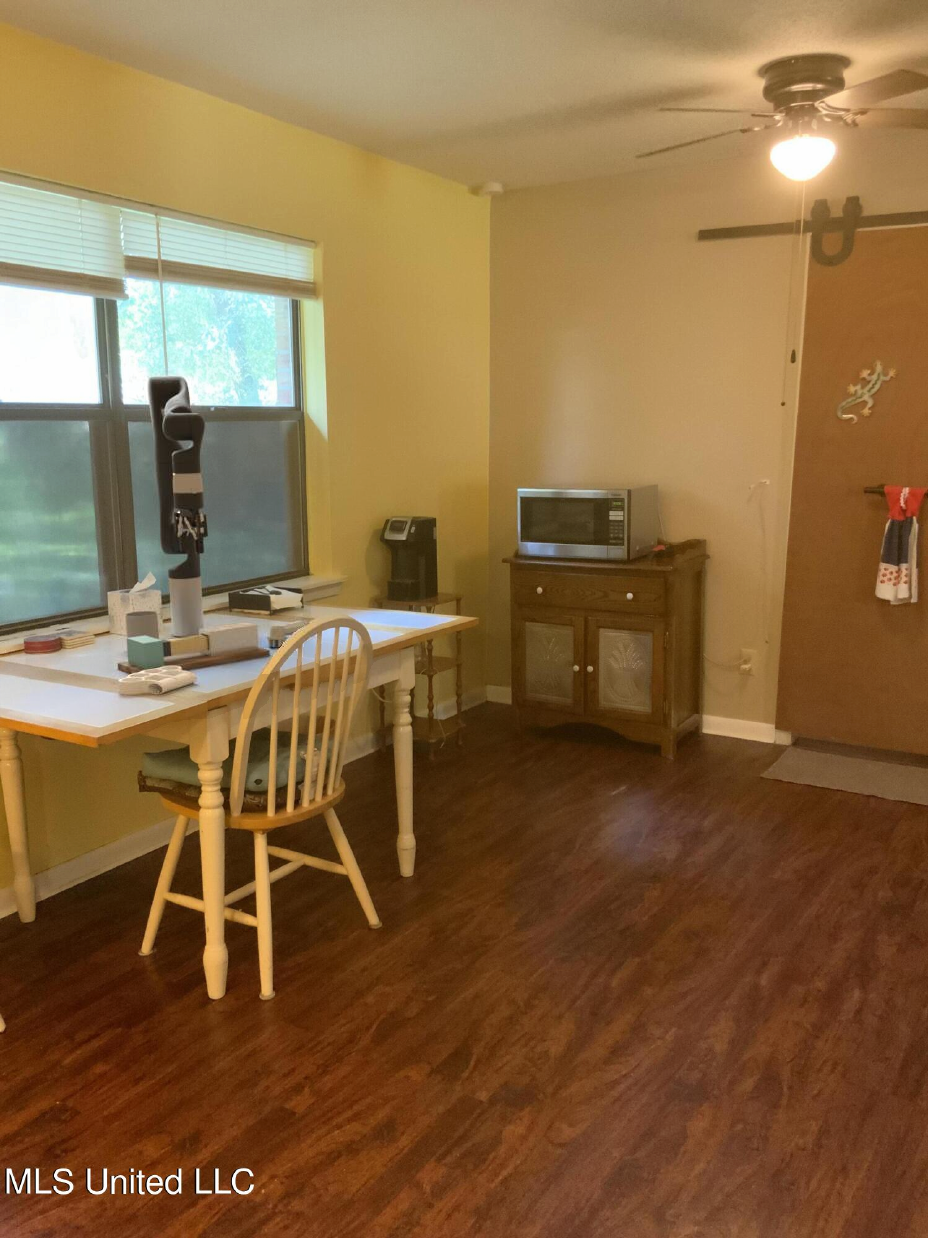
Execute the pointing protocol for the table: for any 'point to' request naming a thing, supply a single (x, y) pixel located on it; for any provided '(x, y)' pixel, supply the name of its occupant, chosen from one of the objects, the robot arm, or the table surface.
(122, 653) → the table surface
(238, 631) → the sleeve
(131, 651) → the teal rectangular block
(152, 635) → the cup
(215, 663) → the base board
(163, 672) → the knuckle duster
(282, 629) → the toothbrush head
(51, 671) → the table surface
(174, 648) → the plug
